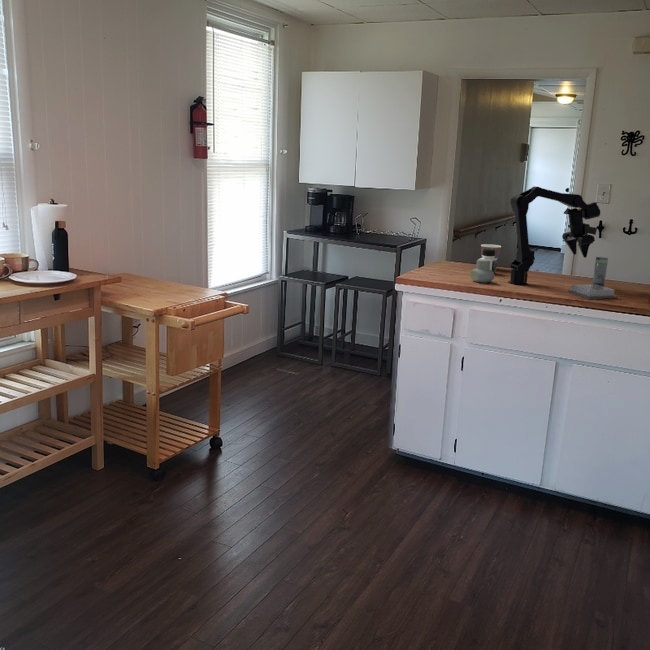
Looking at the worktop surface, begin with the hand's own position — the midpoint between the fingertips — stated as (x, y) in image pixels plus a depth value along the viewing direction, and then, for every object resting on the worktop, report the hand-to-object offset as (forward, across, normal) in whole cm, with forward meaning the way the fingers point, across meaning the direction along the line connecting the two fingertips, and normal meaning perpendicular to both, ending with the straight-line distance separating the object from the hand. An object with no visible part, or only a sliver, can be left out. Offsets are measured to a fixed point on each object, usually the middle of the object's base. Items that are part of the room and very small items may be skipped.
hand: (580, 255), depth 305 cm
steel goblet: (+14, -10, -1) cm, 17 cm away
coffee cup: (+6, +41, +29) cm, 50 cm away
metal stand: (+11, -25, +9) cm, 29 cm away
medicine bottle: (+5, +28, +35) cm, 45 cm away
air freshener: (+2, +4, +46) cm, 46 cm away
